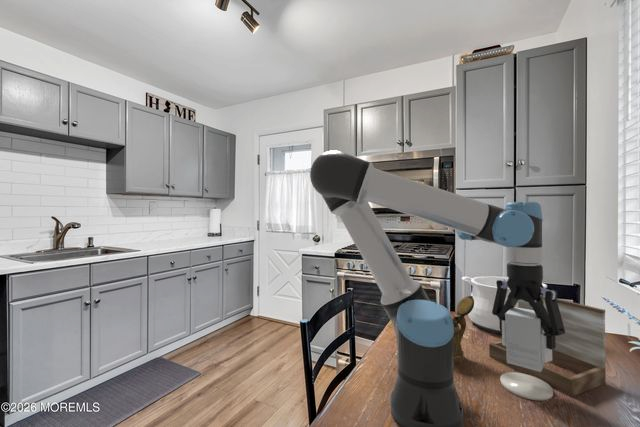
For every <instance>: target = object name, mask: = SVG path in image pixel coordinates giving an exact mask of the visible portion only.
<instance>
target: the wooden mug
mask: <svg viewBox="0 0 640 427" xmlns="http://www.w3.org/2000/svg"><path fill="white" fill-rule="evenodd" d="M473 307H474V299H473V297H472V296H471V295H467V296H465V297H463V298H462V299H460V300H459V302H458V303H457V306H456V314H455V315H454V316H453V317H452V319H453V325H454V335H453V357H454V364H457V363H461V362H462V361H464V359H465V355H464V351H463V349H462V338H464V334H465V332H466V328H467V321H466V318H465V316H469V315H468V314H469V313H470V312H471V311H472V309H473Z"/></svg>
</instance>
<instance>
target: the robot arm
mask: <svg viewBox="0 0 640 427" xmlns="http://www.w3.org/2000/svg"><path fill="white" fill-rule="evenodd" d="M309 178H310V179H309V180H310V182H311V185H312V187H313V188H314V190H315V191H316V192H317V193H318V194H320V195H321V197H322V198H323V200H324V202H325V204H326V206H327V208H328V209H329V212H330V213H331V214H333V215H336V216H338V217H339V218H340V219H341V222H342V223H343V225H344V227H345V229H346V231H347V232H348V234H349V236H350V238H351V239H352V242H353V243H354V245H355V247H356V248H357V250H358V252H359V253H360V256H361V258H362V260H363V261H364V264H365V265H366V266H367V268H368V270H369V272H370V274H371V275H372V278H373V279H374V282H375V283H376V285H377V286H378V289H379V290H380V292H381V298H380V303H381V305H382V307H383V309H384V311H385V312H386V314H387V316H388V318H389V320H390V322H391V324H392V325H393V329H394V333H395V338H396V342H397V345H396V346H397V376H396V379H395V383H394V385H393V390H392V392H391V395H390V400H389V401H390V402H389V403H390V404H389V405H390V407H389V410H390V413H391V416H392V417H393V419H394V420H395V422H397V424H398V425H400V426H401V427H464V410H463V405H462V403H461V402H460V397H459V394H458V391H457V388H456V386H455V380H454V379H455V376H454V374H455V373H454V372H455V370H454V364H455V363H454V357H453V335H454V325H453V316H452V313H451V311H450V310H449V309H448V308H446V307H445V306H444V305H443V304H441V303H439V304H438V303H436V302H435V301H431V300H430V299H429V296H428V294H427V293H426V291H425V290H424V288H423V286H422V284H421V282H420V281H418V280H415V279H412V278H411V276H410V274H409V272H408V271H407V269H406V267H405V265H404V264H403V262H402V260H401V258H400V257H399V255H398V253H397V251H396V249H395V248H394V246H393V244H392V242H391V241H390V239H389V237H388V235H387V233H386V232H385V229H384V228H383V227H382V225H381V222H380V221H379V219H378V217H377V216H376V214H375V212H374V210H373V209H372V207H371V205H370V203H371V204H375V205H376V206H377V205H378V206H381V207H384V208H387V209H390V210H393V211H396V212H399V213H403V214H406V215H408V216H412V217H414V218H417V219H421V220H423V221H427V222H430V223H433V224H436V225H439V226H443V227H446V228H448V229H451V230H454V231H456V236H457V237H458V238H459V239H460V240H461V241H462V240H463V241H465V240H466V241H471V242H472V241H483V242H487V243H493V244H496V245H500V246H502V247H505V248H506V254H505V255H506V261H507V263H506V276H507V278H508V281H506V280H498V281H497V282H496V283H497V292H496V296H495V301H494V305H493V310H492V314H493V315H496V316H498V318H499V322H500V331H502V334H501V341H502V345H504V346H506V320H505V313H506V312H507V311H508V310H509V309H510V308H514V307H515V305H516V303H517V302H518V300H524V301H526V302H529V305H530V306H532V308H533V310H534V312H535V314H536V316H537V318H539V319H540V320H541V326H542V328H543V330H544V332H545V333H543V334H541V359H542V362H544V364H545V363H550V362H549V361H552V349H555V347H556V343H555V342H556V338H555V337H556V336H558V335H562V334H565V329H564V325H563V321H562V318H561V314H560V310H559V307H558V303H557V299H558V291H557V290H555V289H552V290H550V289H547V288H545V289H544V287H543V285H542V283H543V280H544V273H543V272H544V268H543V265H542V263H543V213H542V206H541V204H540V203H539V202H537V201H513V202H512V201H510V202H507V203H506V204H505V208H502V207H500V206H499V207H498V206H496V205H493V204H489V203H486V202H483V201H480V200H477V199H474V198H471V197H466V196H465V195H461V194H457V193H454V192H451V191H448V190H444V189H442V188H439V187H436V186H432V185H428V184H425V183H422V182H420V181H416V180H413V179H409V178H408V177H407V178H406V177H403V176H400V175H397V174H395V173H390V172H387V171H385V170H381V169H377V168H375V167H374V165H373V162H371V161H368V160H364V159H362V158H359V157H356V156H354V155H351V154H349V153H346V152H343V151H340V150H329V151H325V152H323V153H321V154H320V155H318V157H316V158H315V160H313V163H312V164H311V168H310V174H309ZM508 287H509V289H510V290H511V291H510V293H509V295H508V297H507V298H508V299H507V301H506V303H505V298H506V294H507V288H508ZM540 295H543V298H545V304H546V308H547V311H546V309H545V307H544V305H543V300H542V298H541V296H540ZM535 300H536V302H535ZM504 303H505V304H504ZM547 312H548V313H547Z"/></svg>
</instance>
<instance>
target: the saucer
mask: <svg viewBox="0 0 640 427" xmlns="http://www.w3.org/2000/svg"><path fill="white" fill-rule="evenodd" d="M499 379H500V380H499V381H500V384H501V386H502V387H503V388H504V389H505V390H506V391H508V392H510V393H511V394H513V395H515V396H517V397H520V398H524V399H527V400H531V401H538V402H539V401H540V402H541V401H542V402H543V401H549V400H551V399H553V397H554V388H553V387H551V386H550V385H549V384H547V383H546V382H544V381H543V380H541V379H538V378H536V377H534V376H531V375H527V374H524V373H522V372H515V371H513V372H505V373H503V374H501V375H500V377H499Z"/></svg>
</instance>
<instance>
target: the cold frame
mask: <svg viewBox="0 0 640 427" xmlns="http://www.w3.org/2000/svg"><path fill="white" fill-rule="evenodd" d="M540 296H541V298H542V300H543V305H544V307H545V309H546V311H547V308H546V304H545V298H543V294H541V295H540ZM535 302H536V300H535ZM557 303H558V307H559V310H560V314H561V318H562V321H563V325H564V329H565V334H562V335H558V336H556V337H555V338H556V342H555V343H556V347H555V349H552V361H549V362H548V363H550V364H554V365H556V366H558V367H561V368H563V369H566V370H568V371H570V372H572V373H575V374H574V375H572V376H569V375H567V374H564V373H561V372H559V371H556V370H555V369H552V368H550V367H547V366H545V365H544V366H543V368H542V371H541V372H538V371H535V370H531V369H528V368H524V367H521V366H517V365H513V364H510V363H507V355H506V346H504V345H502V340H499V341H495V342H490V343H489V345H488V348H489V350H488V351H489V358H491V359H493V360H496V361H497V362H500V363H502V364H504V365H506V366H507V367H510V368H512V369H514V370H516V371H518V372H519V373H523V374H527V375H531V376H534V377H536V378H538V379H541V380H543V381H544V382H546V383H547V384H549V385H550V386H551V388H552V389H555V390H557V391H558V392H561V393H563V394H566V395H568V396H569V397H575V396H577V395H580V394H583V393H585V392H588V391H591V390H593V389H596V388H597V387H601V386H602V385H605V384H607V383H606V380H607V378H606V377H607V376H606V375H607V373H606V309H603V308H599V307H595V306H590V305H586V304H582V303H577V302H572V301H569V300H564V299H560V298H557ZM518 308H522V309H528V310H533V308H532V306H530V305H529V302H526V301H524V300H518ZM547 313H548V312H547Z"/></svg>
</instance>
